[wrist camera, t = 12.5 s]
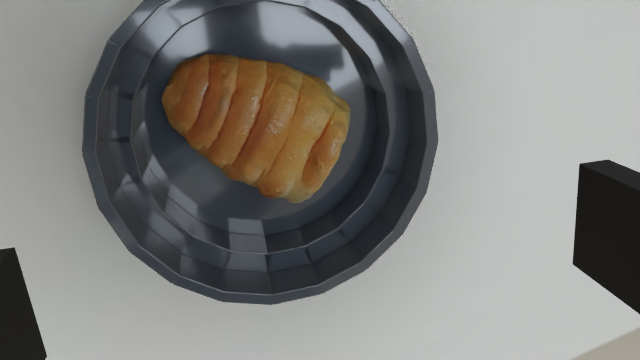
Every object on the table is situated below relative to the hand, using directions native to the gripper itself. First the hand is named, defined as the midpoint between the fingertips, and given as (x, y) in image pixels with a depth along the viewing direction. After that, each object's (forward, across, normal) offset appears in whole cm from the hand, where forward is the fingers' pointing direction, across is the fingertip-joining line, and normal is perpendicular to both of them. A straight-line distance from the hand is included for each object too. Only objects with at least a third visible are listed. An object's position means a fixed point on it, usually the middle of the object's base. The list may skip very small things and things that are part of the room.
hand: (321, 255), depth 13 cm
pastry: (+18, 0, -1) cm, 18 cm away
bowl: (+19, 0, -1) cm, 19 cm away
